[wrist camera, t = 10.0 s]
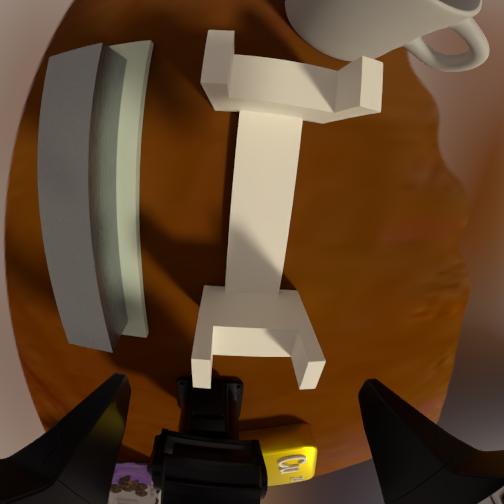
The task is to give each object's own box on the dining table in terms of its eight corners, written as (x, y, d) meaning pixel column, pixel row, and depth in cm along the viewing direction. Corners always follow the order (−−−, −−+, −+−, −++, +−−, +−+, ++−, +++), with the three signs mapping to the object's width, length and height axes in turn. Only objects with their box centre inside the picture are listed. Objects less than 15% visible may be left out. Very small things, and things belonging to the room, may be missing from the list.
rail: (128, 321, 20) (112, 352, 17) (88, 314, 20) (68, 343, 16) (127, 59, 13) (102, 42, 9) (79, 68, 13) (49, 57, 9)
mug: (261, 21, 13) (290, -79, 3) (314, -36, 11) (362, -113, 1) (397, 113, 16) (512, 110, 6) (431, 48, 14) (523, 26, 4)
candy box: (162, 461, 32) (153, 543, 17) (182, 473, 35) (177, 548, 19) (107, 460, 34) (92, 527, 18) (127, 472, 36) (116, 535, 21)
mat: (148, 332, 22) (146, 337, 21) (81, 321, 21) (78, 326, 20) (153, 43, 13) (150, 40, 13) (72, 58, 13) (67, 55, 12)
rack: (291, 318, 22) (314, 391, 15) (203, 314, 21) (193, 390, 14) (325, 87, 16) (383, 57, 8) (219, 73, 15) (209, 24, 7)
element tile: (195, 431, 29) (193, 461, 24) (311, 417, 29) (319, 447, 25) (221, 469, 35) (221, 492, 30) (309, 458, 35) (314, 481, 30)
